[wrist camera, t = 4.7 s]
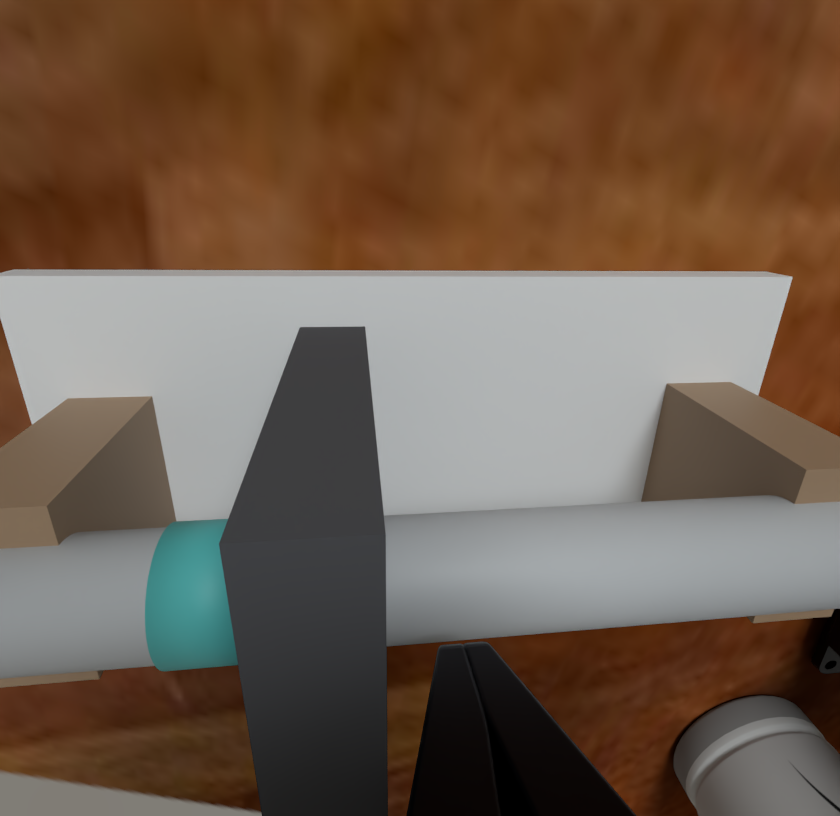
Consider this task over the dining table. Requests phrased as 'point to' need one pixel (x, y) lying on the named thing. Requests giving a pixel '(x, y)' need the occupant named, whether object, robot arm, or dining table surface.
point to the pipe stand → (409, 455)
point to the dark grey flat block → (314, 587)
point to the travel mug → (758, 761)
